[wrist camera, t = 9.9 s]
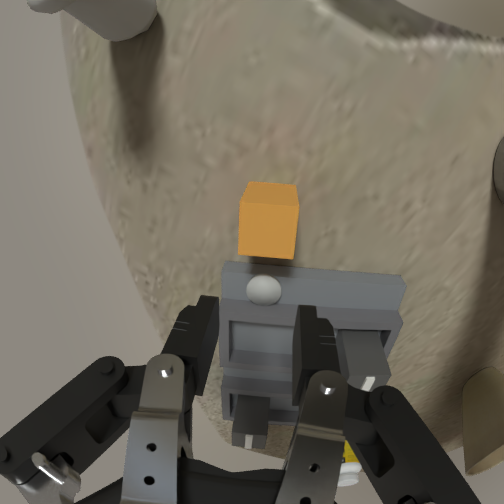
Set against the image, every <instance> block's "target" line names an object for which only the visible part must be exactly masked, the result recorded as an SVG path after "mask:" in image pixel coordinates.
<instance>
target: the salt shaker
mask: <svg viewBox="0 0 504 504" xmlns="http://www.w3.org/2000/svg"><path fill="white" fill-rule="evenodd" d="M27 4H28V5H29V7H30V8H31V9H32V10H34V11H36V12H42V13H50V14H53V13H56V12H58V11H61V10H65V11H66V12H68V13H69V14H71V15H72V16H74V17H75V18H76V19H78V20H79V21H81V22H82V23H84V24H85V25H86V26H88V27H89V28H91V29H92V30H93V31H95V32H96V33H97V34H99V35H100V36H102V37H103V38H104V39H108V40H111V41H114V42H118V41H122V40H126V39H131V38H132V37H134V36H136V35H138V34H139V33H142V32H144V31H147V30H148V29H149V27H150V26H151V24H152V22H153V20H154V19H155V17H156V15H157V5H156V0H27Z"/></svg>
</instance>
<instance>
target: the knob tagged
mask: <svg viewBox="0 0 504 504" xmlns="http://www.w3.org/2000/svg"><path fill="white" fill-rule="evenodd" d="M269 408H270V397H259V396H249V395H240V394H238V398H237V404H236V410H235V416H234V422H233V428H232V446H240V447H245V449H251V448H260V449H264V448H265V444H266V439H267V432H268V420H269Z"/></svg>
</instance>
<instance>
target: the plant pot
mask: <svg viewBox="0 0 504 504" xmlns="http://www.w3.org/2000/svg"><path fill="white" fill-rule="evenodd" d="M462 428H463V447H464V460H465V472H466V476H473V475H476V474H479V473H482V472H484V471H486V470H489V469H491V468H493V467H494V466H496V465H498V464H500V463H502V462H503V461H504V374H503V373H502V372H500V371H499V370H497V369H496V368H494V367H488V368H485V369H483V370H481V371H479V372H478V373H476V374H475V375H473V376H472V377H471V378H470V379H469V380H468V381H467V382H466V384H465V385H464V387H463V390H462Z"/></svg>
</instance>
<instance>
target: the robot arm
mask: <svg viewBox="0 0 504 504" xmlns="http://www.w3.org/2000/svg"><path fill="white" fill-rule="evenodd" d="M494 182H495V188H496V191H497V194H498V196H499V198H500V200H501V201H502V203H503V204H504V137H503V139H502V140H501V142H500V144H499V146H498V149H497V151H496V156H495V160H494ZM219 327H220V320H219V298H218V297H214V296H205V295H201V296H200V298H199V301H198V303H197V305H196V306H190V305H188V306H186V307H185V308H184V309H183V310H182V311H181V312H180V313H179V315H178V317H177V319H176V322H175V324H174V326H173V329H172V330H171V332H170V335H169V337H168V339H167V341H166V343H165V346H164V348H163V350H162V352H161V354H160V355H157V356H154V357H153V358H151V359H150V360H149V362H148V363H147V365H142V366H124V363H123V362H122V361H121V360H120V359H119V358H116V357H113V356H106V357H102V358H99V359H98V360H96V361H95V362H94V363H92V364H91V365H90V366H88V367H87V368H86V369H85V370H83V371H82V372H81V373H80V374H78V375H77V376H76V377H75V378H73V379H72V380H71V381H70V382H69V383H67V384H66V385H65V386H64V387H62V388H61V389H60V390H59V391H57V392H56V393H55V394H54V395H52V396H51V397H50V398H49V399H48V400H46V401H45V402H44V403H43V404H42V405H40V406H39V407H38V408H36V409H35V410H34V411H33V412H32V413H30V414H29V415H28V416H27V417H25V418H24V419H23V420H22V421H21V422H19V423H18V424H17V425H16V426H14V427H13V428H12V429H11V430H10V431H9V432H7V433H6V434H5V435H4V436H2V437H1V438H0V474H1V475H2V476H4V477H5V478H7V479H8V480H9V481H10V482H11V483H12V484H14V485H16V487H17V488H18V489H19V491H20V492H21V493H22V495H23V496H24V497H25V499H26V500H27V501H28V503H29V504H337V503H336V502H335V501H334V499H335V495H336V490H337V485H338V480H339V475H340V470H341V465H342V459H343V453H344V447H345V440H347V441H348V444H349V445H350V447H351V449H352V450H353V452H354V454H355V456H356V457H357V459H358V461H359V463H360V464H361V466H362V468H363V470H364V471H365V473H366V475H367V476H368V478H369V480H370V482H371V483H372V485H373V487H374V488H375V490H376V492H377V493H378V495H379V497H380V499H381V500H382V502H383V504H481V503H480V501H479V500H478V498H477V497H476V495H475V494H474V492H473V491H472V489H471V488H470V486H469V485H468V483H467V482H466V481H465V479H464V478H463V476H462V475H461V473H460V472H459V470H458V469H457V468H456V466H455V465H454V464H453V462H452V461H451V459H450V458H449V456H448V455H447V454H446V452H445V451H444V449H443V448H442V447H441V445H440V444H439V442H438V441H437V440H436V438H435V437H434V436H433V434H432V433H431V432H430V430H429V429H428V427H427V426H426V425H425V423H424V422H423V421H422V419H421V418H420V417H419V415H418V414H417V413H416V411H415V410H414V409H413V407H412V406H411V405H410V403H409V402H408V401H407V399H406V398H405V397H404V395H403V394H402V393H401V392H400V391H399V390H398V389H396V388H394V387H392V386H387V385H383V386H379V387H377V388H375V389H374V390H373V391H372V392H369V391H365V390H361V389H358V388H355V387H353V386H351V385H349V384H348V383H347V381H346V379H345V378H344V377H343V376H342V375H341V371H340V365H339V358H338V352H337V346H336V340H335V334H334V328H333V326H332V324H331V323H330V322H329V320H328V319H327V318H318V317H317V309H316V306H314V305H300V304H299V305H298V308H297V314H296V320H295V326H294V331H293V340H292V406H299V415H298V418H297V421H296V425H295V428H294V432H293V435H292V439H291V442H290V446H289V449H288V452H287V456H286V459H285V462H284V465H283V468H282V470H279V469H260V470H252V471H244V472H228V471H226V470H223V469H220V468H218V467H215V466H213V465H210V464H208V463H205V462H203V461H200V460H195V459H193V452H192V403H193V400H194V396H195V395H198V396H202V395H203V391H204V388H205V384H206V380H207V377H208V373H209V369H210V366H211V362H212V358H213V355H214V351H215V347H216V344H217V340H218V336H219ZM129 427H130V428H129ZM128 428H129V435H128V443H127V449H126V458H125V465H124V475H123V477H122V478H120V479H119V480H117V481H115V482H113V483H112V484H110V485H108V486H106V487H104V488H102V489H101V490H99V491H97V492H95V493H93V494H91V495H90V496H88V497H86V498H84V499H82V500H80V501H78V502H76V503H74V497H75V495H76V493H78V492H79V491H80V486H81V478H80V474H81V473H83V472H84V471H85V470H86V469H87V468H88V467H89V466H90V465H91V464H92V463H93V462H94V461H95V460H96V459H97V458H98V457H100V456H101V454H103V453H104V452H105V451H106V450H107V449H108V448H109V447H110V446H111V445H112V444H113V443H114V442H115V441H116V440H117V439H118V438H119V437H120V436H121V435H122V434H123V433H124V432H125V431H126V430H127V429H128Z"/></svg>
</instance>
